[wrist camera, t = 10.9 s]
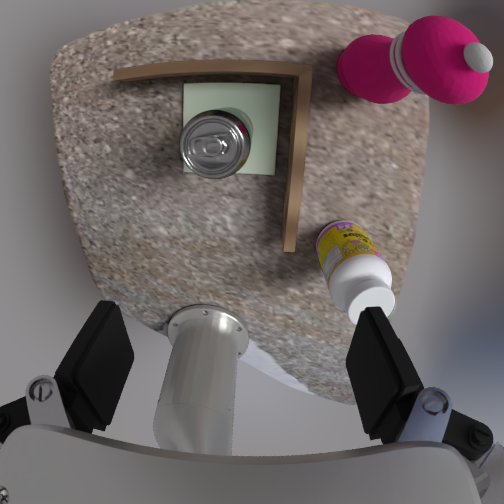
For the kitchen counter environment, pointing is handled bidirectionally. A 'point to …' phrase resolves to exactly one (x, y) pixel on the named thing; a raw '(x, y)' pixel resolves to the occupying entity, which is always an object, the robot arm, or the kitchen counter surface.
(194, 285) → the kitchen counter surface
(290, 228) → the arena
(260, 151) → the pad
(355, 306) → the supplement bottle
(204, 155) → the soda can
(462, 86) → the pepper mill
